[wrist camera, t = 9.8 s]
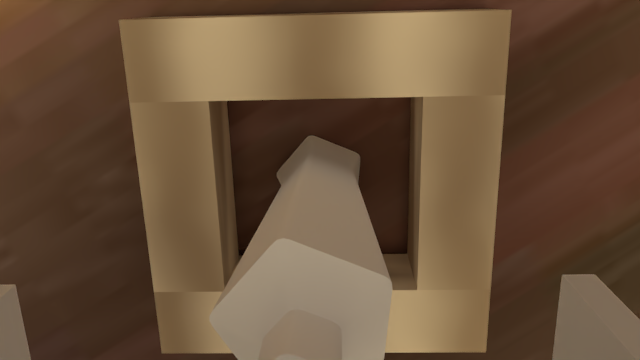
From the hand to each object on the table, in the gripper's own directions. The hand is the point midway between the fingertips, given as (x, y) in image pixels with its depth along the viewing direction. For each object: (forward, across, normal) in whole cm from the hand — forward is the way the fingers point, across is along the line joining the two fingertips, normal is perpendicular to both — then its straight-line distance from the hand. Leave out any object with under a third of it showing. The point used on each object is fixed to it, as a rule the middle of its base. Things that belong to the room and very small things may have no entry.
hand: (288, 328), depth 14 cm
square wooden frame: (+12, +1, 0) cm, 12 cm away
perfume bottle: (+13, +1, 0) cm, 13 cm away
